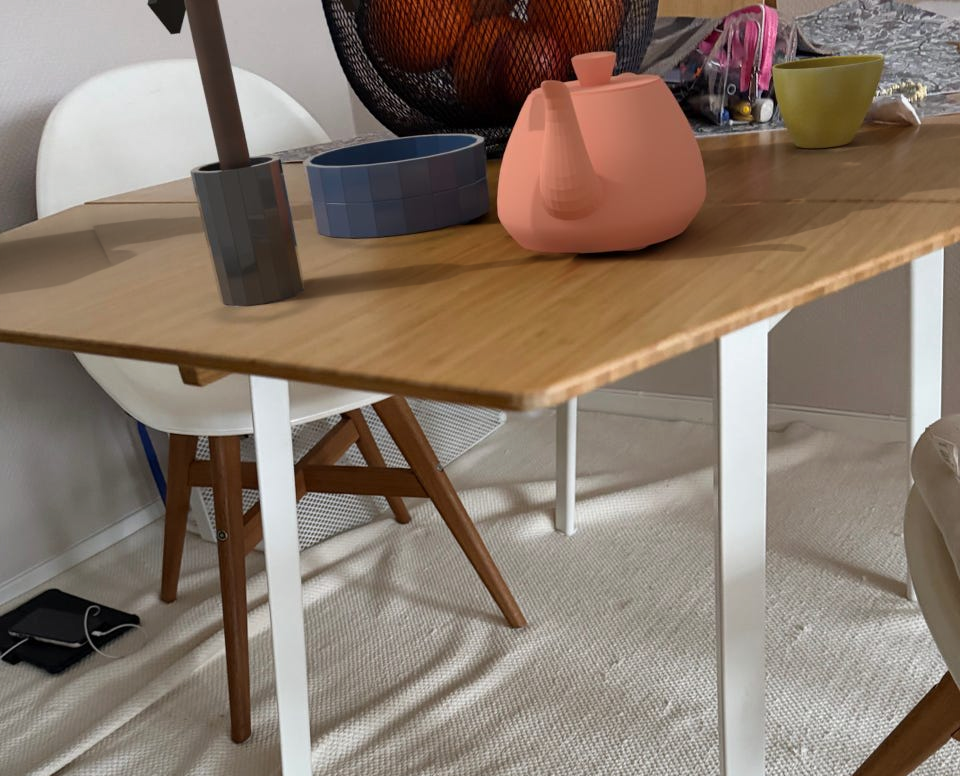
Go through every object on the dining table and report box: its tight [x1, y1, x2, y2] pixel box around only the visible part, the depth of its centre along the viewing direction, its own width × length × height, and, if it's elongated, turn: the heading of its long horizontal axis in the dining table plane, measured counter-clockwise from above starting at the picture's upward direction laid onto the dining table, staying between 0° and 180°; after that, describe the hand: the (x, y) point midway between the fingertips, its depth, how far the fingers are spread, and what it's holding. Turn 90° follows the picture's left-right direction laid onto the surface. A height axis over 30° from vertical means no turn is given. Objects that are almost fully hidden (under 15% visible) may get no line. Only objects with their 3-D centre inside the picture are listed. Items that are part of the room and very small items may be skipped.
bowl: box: [302, 133, 492, 239], centre depth 93 cm, size 15×15×6 cm
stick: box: [184, 0, 251, 170], centre depth 70 cm, size 2×2×20 cm
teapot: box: [496, 51, 707, 254], centre depth 77 cm, size 22×15×12 cm
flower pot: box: [771, 54, 886, 149], centre depth 104 cm, size 10×10×7 cm
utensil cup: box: [189, 155, 306, 307], centre depth 74 cm, size 6×6×9 cm
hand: (250, 8), depth 71 cm, fingers open, 13 cm apart
